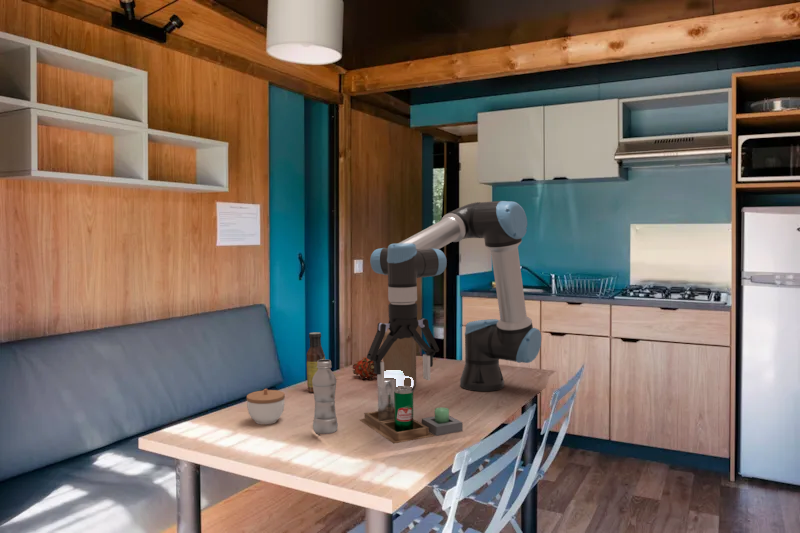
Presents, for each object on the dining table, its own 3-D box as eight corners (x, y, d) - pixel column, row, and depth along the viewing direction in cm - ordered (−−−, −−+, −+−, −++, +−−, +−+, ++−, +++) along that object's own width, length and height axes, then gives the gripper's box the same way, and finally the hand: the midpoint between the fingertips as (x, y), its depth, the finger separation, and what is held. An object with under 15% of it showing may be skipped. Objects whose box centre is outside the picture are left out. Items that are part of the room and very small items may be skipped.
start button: (444, 418, 168) (444, 406, 167) (451, 422, 164) (451, 410, 164) (432, 420, 166) (432, 408, 166) (439, 424, 162) (439, 412, 162)
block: (411, 392, 207) (411, 333, 206) (382, 390, 209) (382, 332, 208) (416, 384, 217) (416, 328, 216) (389, 383, 219) (388, 327, 218)
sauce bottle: (327, 392, 208) (326, 333, 207) (309, 394, 206) (308, 335, 204) (323, 387, 214) (322, 331, 213) (305, 389, 212) (304, 332, 211)
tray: (396, 417, 179) (396, 406, 179) (434, 440, 160) (434, 428, 159) (358, 423, 174) (358, 412, 173) (393, 448, 154) (393, 435, 154)
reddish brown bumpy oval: (379, 385, 223) (354, 385, 230) (389, 368, 228) (364, 368, 235) (368, 369, 219) (343, 369, 226) (378, 351, 224) (353, 353, 231)
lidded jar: (291, 417, 180) (291, 386, 179) (272, 428, 170) (272, 395, 169) (260, 414, 184) (259, 383, 183) (239, 425, 173) (238, 392, 173)
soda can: (396, 436, 159) (396, 390, 159) (392, 430, 164) (392, 385, 163) (415, 434, 160) (415, 389, 160) (411, 428, 165) (410, 384, 165)
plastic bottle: (327, 440, 160) (326, 364, 159) (307, 435, 164) (306, 361, 163) (342, 433, 166) (341, 359, 165) (323, 429, 169) (322, 357, 168)
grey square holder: (446, 426, 171) (446, 414, 170) (462, 435, 163) (462, 422, 163) (421, 431, 167) (421, 418, 167) (436, 440, 160) (436, 426, 160)
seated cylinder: (391, 418, 174) (390, 376, 174) (399, 423, 170) (398, 380, 169) (375, 421, 172) (374, 378, 171) (383, 426, 168) (382, 382, 167)
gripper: (436, 297, 169) (437, 373, 171) (352, 304, 158) (355, 386, 159) (451, 300, 162) (452, 379, 164) (364, 308, 151) (366, 392, 153)
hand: (404, 382), depth 162 cm, fingers open, 13 cm apart
